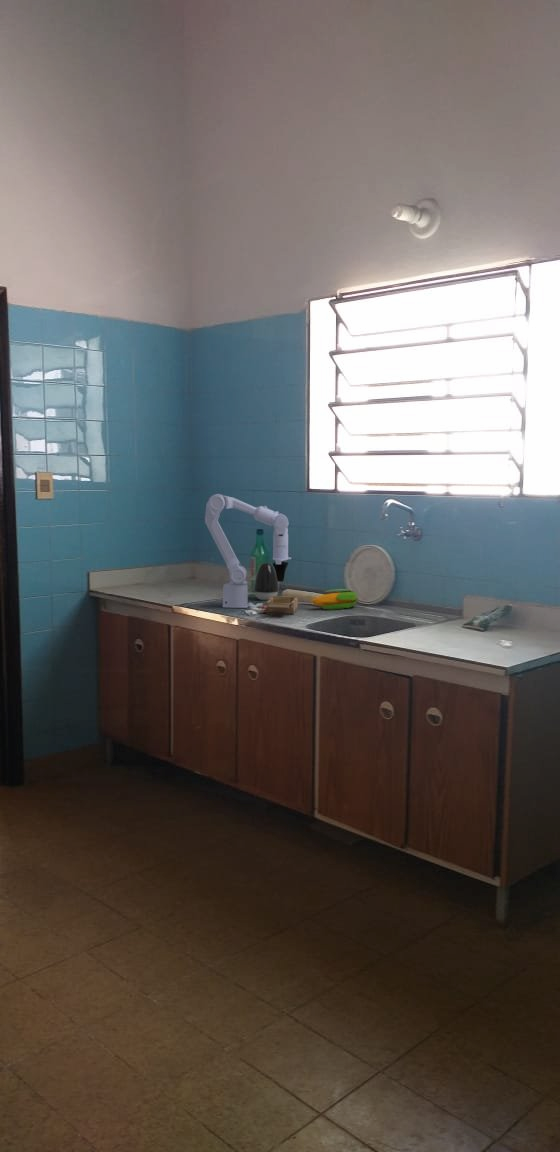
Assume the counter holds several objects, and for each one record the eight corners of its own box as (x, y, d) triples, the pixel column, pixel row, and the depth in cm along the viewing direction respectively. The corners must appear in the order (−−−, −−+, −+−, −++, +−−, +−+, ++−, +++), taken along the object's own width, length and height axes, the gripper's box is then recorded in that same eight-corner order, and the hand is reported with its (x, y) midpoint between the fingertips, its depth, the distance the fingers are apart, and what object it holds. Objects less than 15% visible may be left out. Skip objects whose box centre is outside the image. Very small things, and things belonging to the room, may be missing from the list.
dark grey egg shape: (280, 598, 377) (280, 561, 375) (277, 601, 366) (277, 563, 365) (255, 597, 378) (255, 560, 376) (252, 601, 367) (252, 563, 366)
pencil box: (293, 614, 334) (293, 603, 333) (266, 614, 335) (266, 602, 335) (297, 608, 350) (298, 597, 349) (271, 607, 351) (271, 596, 350)
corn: (362, 588, 350) (316, 591, 340) (362, 608, 350) (317, 611, 341) (351, 587, 356) (307, 590, 347) (352, 606, 357) (307, 610, 347)
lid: (287, 609, 326) (287, 601, 326) (267, 608, 327) (267, 600, 327) (291, 603, 340) (291, 595, 340) (272, 603, 341) (272, 595, 340)
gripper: (289, 547, 342) (288, 583, 344) (293, 544, 356) (292, 579, 358) (270, 547, 343) (270, 583, 344) (275, 544, 357) (274, 578, 359)
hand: (280, 581), depth 351 cm, fingers closed
